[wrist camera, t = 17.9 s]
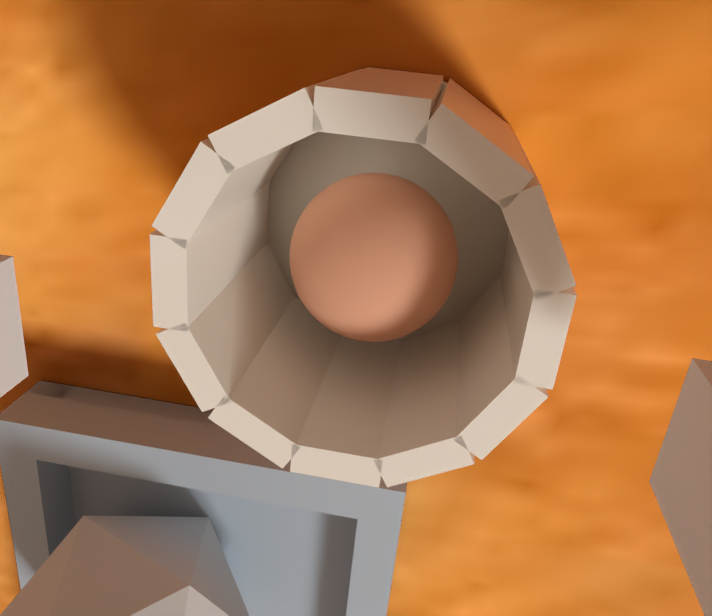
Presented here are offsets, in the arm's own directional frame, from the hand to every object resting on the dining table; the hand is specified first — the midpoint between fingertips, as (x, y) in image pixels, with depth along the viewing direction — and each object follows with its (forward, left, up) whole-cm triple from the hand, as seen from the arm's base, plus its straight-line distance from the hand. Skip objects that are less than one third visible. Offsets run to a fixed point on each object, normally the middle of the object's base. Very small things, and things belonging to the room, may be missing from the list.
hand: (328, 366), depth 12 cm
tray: (+17, -6, -11) cm, 21 cm away
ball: (0, 0, -10) cm, 10 cm away
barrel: (0, 0, -11) cm, 11 cm away
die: (+16, -5, -9) cm, 19 cm away
